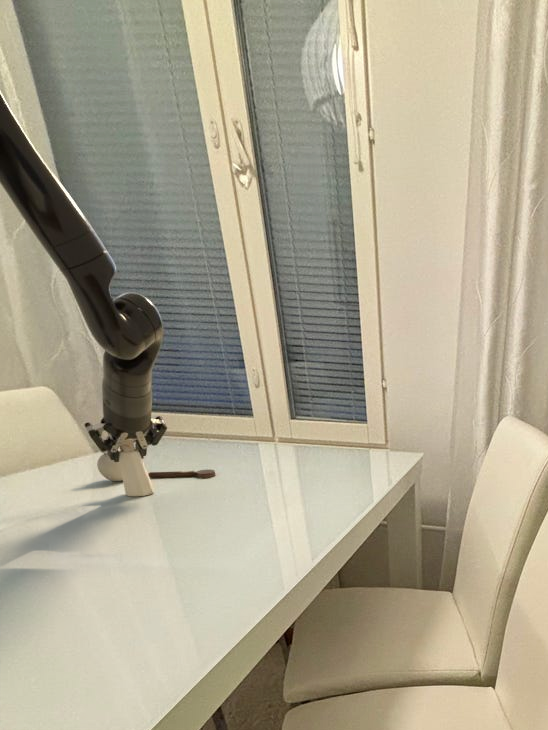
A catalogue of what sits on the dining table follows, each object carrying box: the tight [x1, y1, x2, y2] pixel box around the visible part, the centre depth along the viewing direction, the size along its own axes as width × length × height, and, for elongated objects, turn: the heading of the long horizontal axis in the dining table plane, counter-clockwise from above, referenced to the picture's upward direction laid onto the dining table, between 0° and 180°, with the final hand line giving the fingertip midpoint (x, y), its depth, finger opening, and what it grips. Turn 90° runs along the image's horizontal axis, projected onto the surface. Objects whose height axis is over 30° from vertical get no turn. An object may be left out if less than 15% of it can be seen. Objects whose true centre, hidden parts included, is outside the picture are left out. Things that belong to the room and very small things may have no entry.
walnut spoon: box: [148, 469, 217, 479], centre depth 126 cm, size 14×4×1 cm, turn 104°
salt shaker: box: [118, 439, 155, 497], centre depth 111 cm, size 5×5×11 cm
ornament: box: [96, 432, 123, 482], centre depth 120 cm, size 6×7×10 cm
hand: (127, 456), depth 111 cm, fingers closed on salt shaker, 4 cm apart
